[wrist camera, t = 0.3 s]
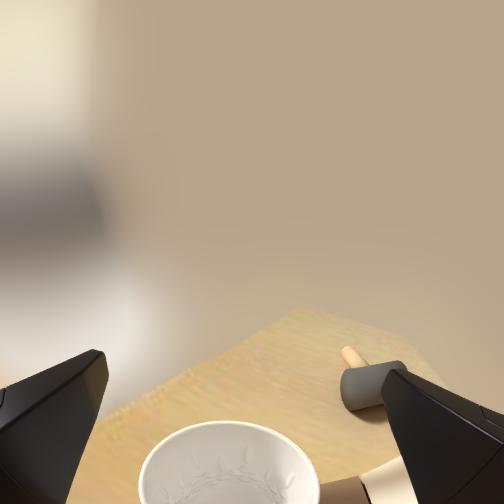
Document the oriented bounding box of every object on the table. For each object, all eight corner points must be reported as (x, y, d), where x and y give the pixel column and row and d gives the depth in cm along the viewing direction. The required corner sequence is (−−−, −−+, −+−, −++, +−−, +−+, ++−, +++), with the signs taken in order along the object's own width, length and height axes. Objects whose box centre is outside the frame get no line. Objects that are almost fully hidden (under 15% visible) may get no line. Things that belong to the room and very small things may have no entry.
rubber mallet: (401, 406, 22) (413, 373, 22) (352, 419, 22) (363, 385, 21) (363, 361, 32) (369, 331, 32) (321, 366, 32) (326, 336, 31)
